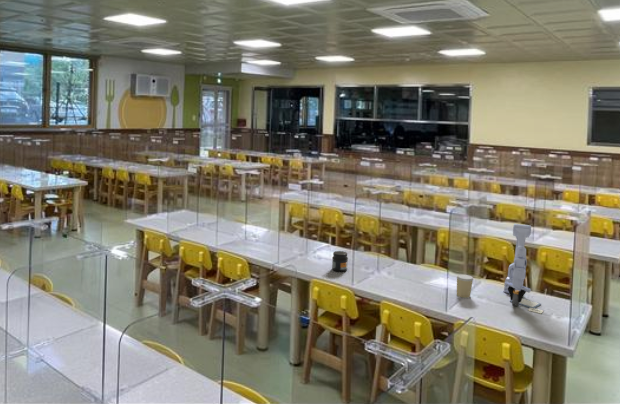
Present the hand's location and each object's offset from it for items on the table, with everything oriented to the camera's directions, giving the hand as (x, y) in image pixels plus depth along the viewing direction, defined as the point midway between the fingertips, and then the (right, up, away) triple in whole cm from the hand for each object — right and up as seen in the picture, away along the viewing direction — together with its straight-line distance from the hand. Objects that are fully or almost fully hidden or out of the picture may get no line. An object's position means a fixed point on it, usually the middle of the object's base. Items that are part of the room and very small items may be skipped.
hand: (515, 300), depth 301 cm
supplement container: (-98, +11, +54) cm, 113 cm away
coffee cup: (-26, 0, +14) cm, 30 cm away
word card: (+9, -5, -6) cm, 12 cm away
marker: (0, -2, 0) cm, 2 cm away
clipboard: (+8, -2, +5) cm, 10 cm away
